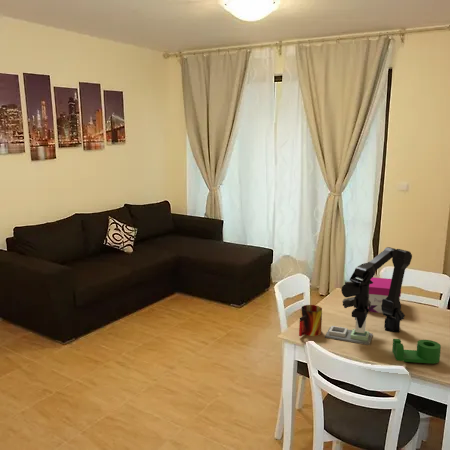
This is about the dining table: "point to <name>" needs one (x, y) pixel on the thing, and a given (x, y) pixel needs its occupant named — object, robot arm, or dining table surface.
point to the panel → (349, 335)
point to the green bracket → (417, 352)
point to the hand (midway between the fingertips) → (360, 326)
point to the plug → (362, 329)
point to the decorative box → (378, 293)
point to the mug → (310, 320)
